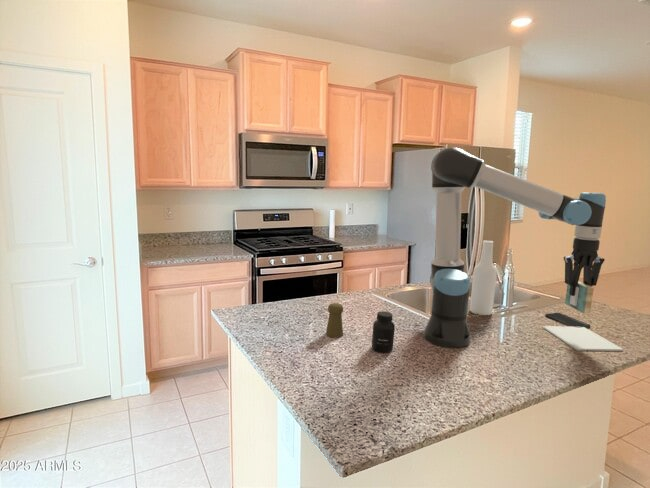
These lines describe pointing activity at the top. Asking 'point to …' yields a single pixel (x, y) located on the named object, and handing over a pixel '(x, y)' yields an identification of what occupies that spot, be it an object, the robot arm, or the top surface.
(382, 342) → the supplement bottle
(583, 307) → the tile
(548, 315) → the phone
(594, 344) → the mat
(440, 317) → the robot arm
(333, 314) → the cork
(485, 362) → the top surface
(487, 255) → the alcohol
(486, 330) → the top surface
